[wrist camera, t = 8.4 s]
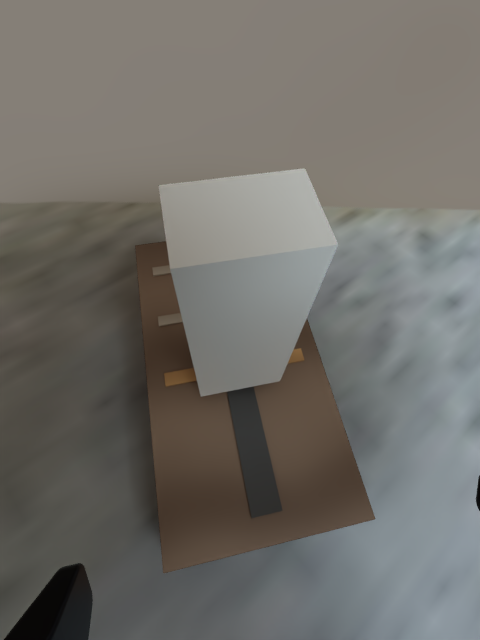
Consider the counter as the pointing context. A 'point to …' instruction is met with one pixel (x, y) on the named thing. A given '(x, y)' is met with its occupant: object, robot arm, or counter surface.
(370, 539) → the counter surface
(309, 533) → the console
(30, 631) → the robot arm
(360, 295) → the counter surface
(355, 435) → the counter surface
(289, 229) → the fader
